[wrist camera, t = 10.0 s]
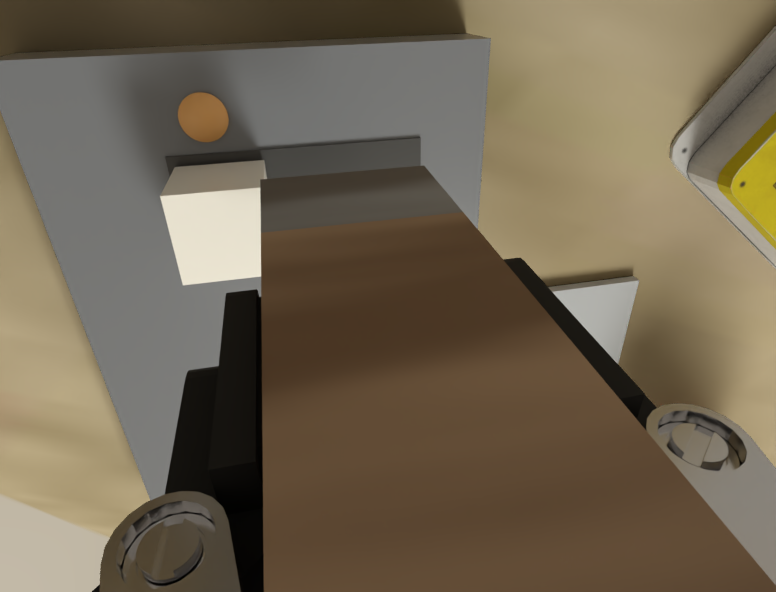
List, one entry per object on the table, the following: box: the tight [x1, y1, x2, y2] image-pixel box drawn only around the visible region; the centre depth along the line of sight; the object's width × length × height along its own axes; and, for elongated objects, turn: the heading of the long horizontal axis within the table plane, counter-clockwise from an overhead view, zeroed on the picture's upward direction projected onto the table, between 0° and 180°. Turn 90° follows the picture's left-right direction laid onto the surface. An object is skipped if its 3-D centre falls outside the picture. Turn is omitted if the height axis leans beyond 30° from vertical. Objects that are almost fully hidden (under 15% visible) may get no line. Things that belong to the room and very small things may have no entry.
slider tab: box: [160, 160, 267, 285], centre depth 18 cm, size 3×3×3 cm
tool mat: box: [548, 276, 639, 364], centre depth 30 cm, size 12×8×1 cm, turn 1°
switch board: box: [0, 33, 491, 500], centre depth 23 cm, size 22×16×3 cm
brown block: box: [260, 165, 776, 592], centre depth 9 cm, size 4×4×12 cm
